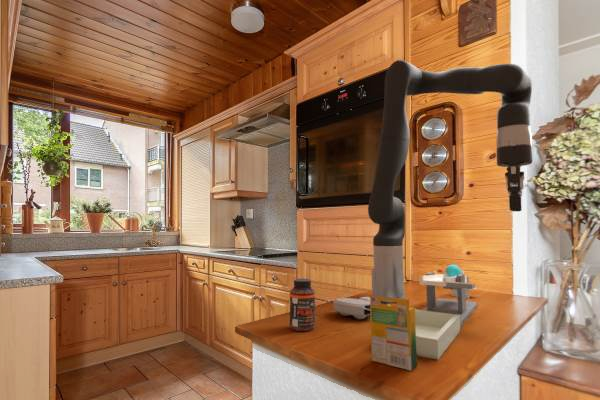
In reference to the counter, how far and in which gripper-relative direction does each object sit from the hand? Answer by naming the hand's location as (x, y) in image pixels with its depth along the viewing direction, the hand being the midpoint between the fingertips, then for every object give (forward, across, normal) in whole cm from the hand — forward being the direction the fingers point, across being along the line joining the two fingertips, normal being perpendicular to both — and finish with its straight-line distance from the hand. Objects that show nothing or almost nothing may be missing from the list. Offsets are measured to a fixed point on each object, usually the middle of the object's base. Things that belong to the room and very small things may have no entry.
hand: (515, 211), depth 85 cm
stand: (+27, 0, -16) cm, 32 cm away
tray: (+27, +24, -17) cm, 40 cm away
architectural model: (+28, -25, -17) cm, 41 cm away
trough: (+21, 0, -14) cm, 25 cm away
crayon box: (+27, +40, -18) cm, 52 cm away
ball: (+18, -10, -16) cm, 26 cm away
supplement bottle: (+28, +32, -42) cm, 60 cm away
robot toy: (+28, +13, -36) cm, 47 cm away
